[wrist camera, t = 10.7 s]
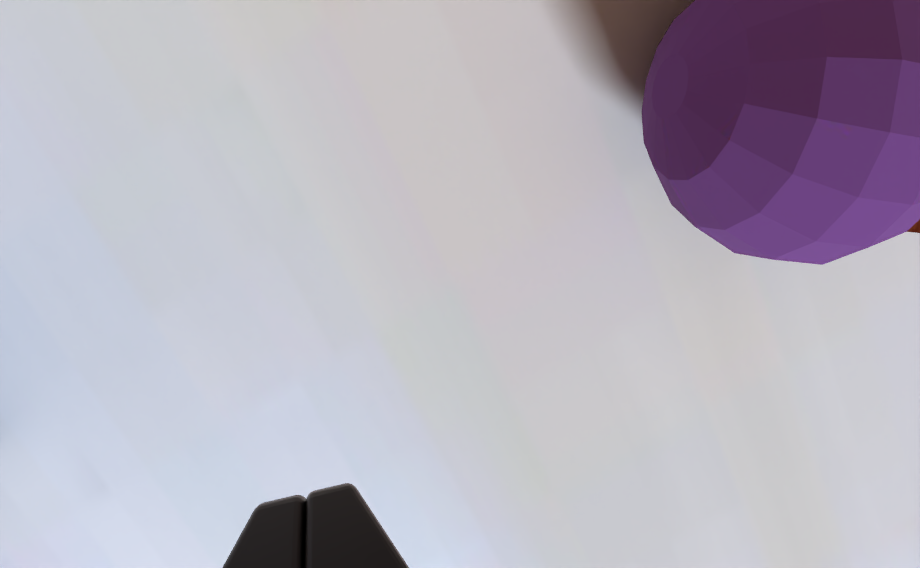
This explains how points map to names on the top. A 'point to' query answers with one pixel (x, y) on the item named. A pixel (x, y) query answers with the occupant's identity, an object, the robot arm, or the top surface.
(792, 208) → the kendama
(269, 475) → the top surface
